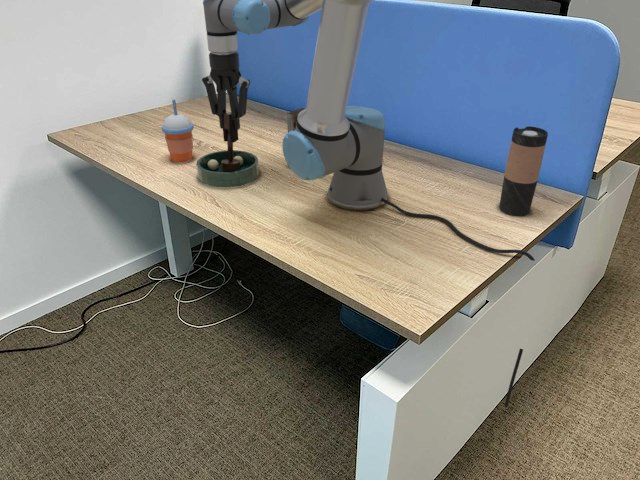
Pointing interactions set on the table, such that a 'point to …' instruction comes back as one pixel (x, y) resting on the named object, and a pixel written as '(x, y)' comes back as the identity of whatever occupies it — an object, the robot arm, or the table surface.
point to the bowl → (228, 178)
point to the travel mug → (522, 170)
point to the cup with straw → (178, 136)
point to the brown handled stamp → (229, 148)
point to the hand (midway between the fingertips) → (231, 140)
